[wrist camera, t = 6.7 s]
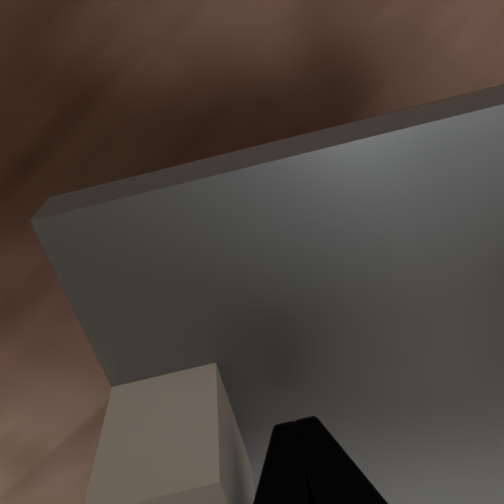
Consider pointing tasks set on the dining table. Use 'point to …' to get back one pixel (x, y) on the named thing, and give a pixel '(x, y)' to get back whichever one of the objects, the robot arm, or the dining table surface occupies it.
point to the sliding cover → (300, 307)
